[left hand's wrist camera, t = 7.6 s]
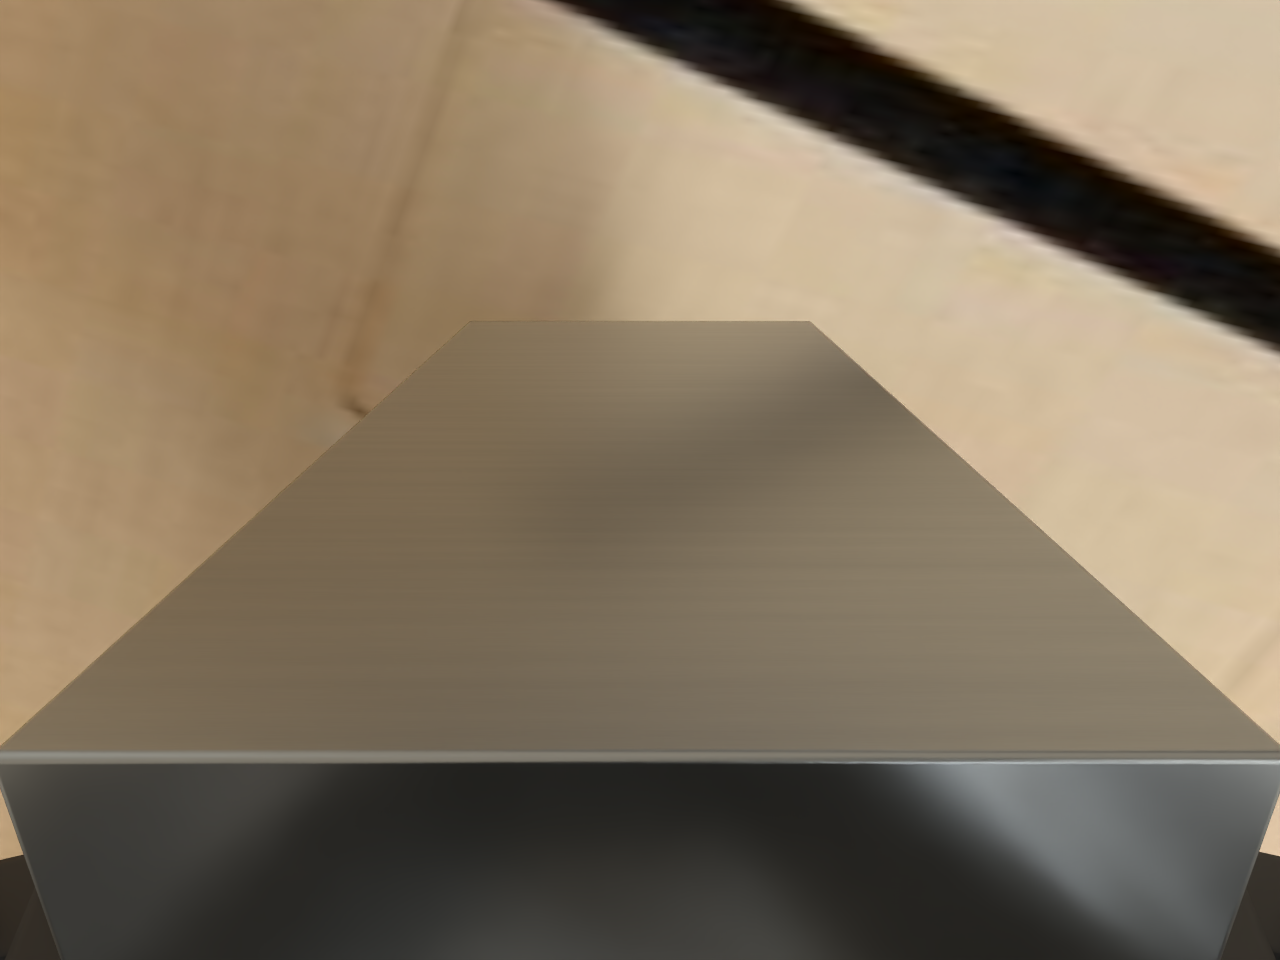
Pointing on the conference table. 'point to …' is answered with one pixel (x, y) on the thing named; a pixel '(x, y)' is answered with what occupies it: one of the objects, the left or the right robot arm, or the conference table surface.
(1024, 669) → the box
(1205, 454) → the conference table surface
